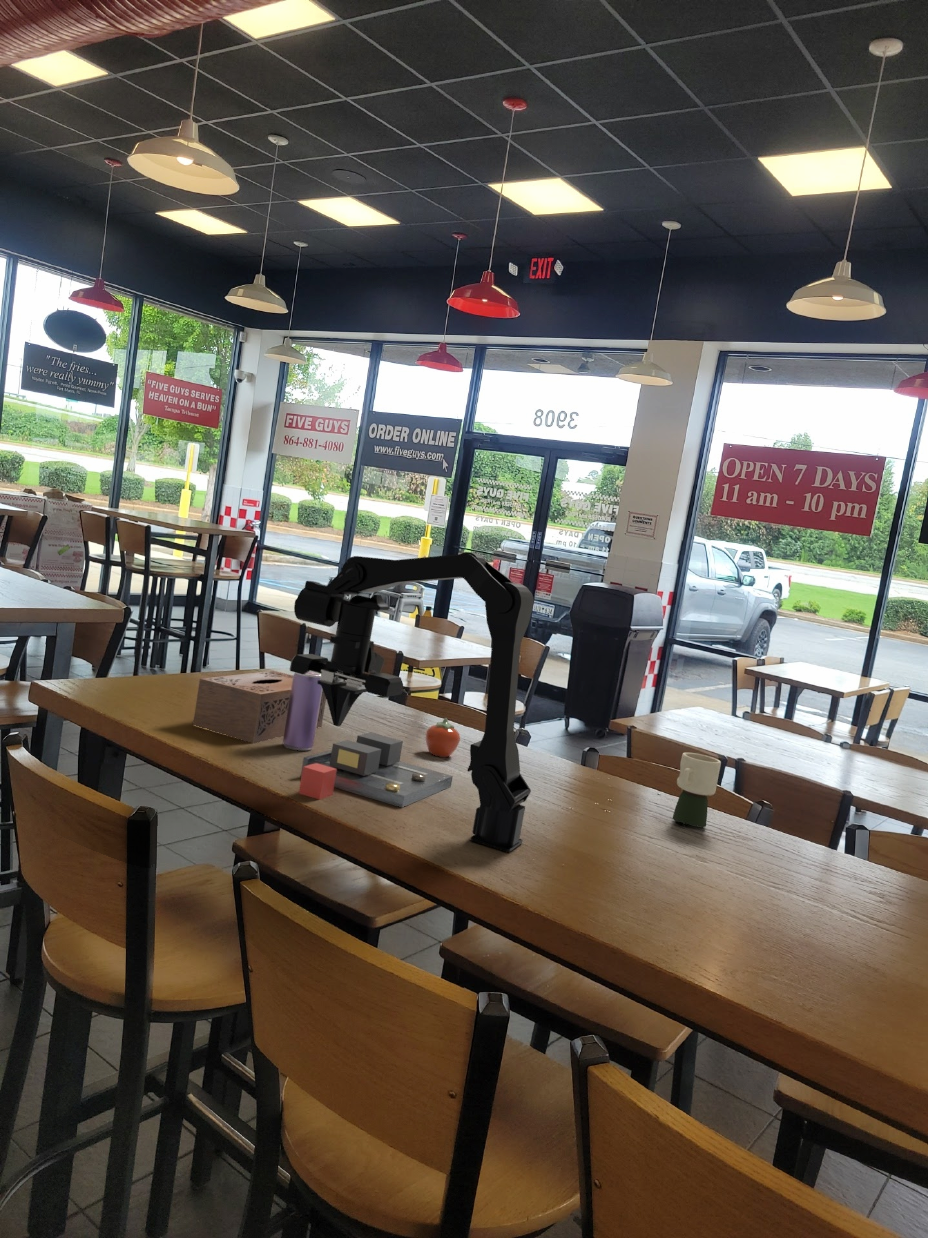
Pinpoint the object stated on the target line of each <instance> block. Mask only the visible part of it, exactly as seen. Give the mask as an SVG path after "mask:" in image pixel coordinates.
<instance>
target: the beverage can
mask: <svg viewBox="0 0 928 1238" xmlns="http://www.w3.org/2000/svg"><path fill="white" fill-rule="evenodd" d="M320 679H321V673H318V672H314V671H309V672H308V673H306V674H304V675H303V674H299V673H296V672H294V674H293V681H292V687H291V693H290V700H289V706H288V712H287V718H286V725H285V731H284V736H283V737H282V743H283V747H284V748H286V749H288V748H289V749H288V750H292V751H297V750H298V751H299V752H309V751H310V750H312V749H313V747H314V745H315V738H316V733H317V732H316V731H317V729H316V727H317V720H318V714H319V708H320V702H321V696H322V690H323V689H322V686H321V685H320V684H317V681H318V680H320ZM298 751H297V752H298Z"/></svg>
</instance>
